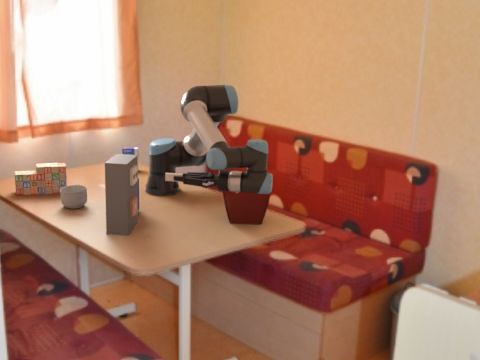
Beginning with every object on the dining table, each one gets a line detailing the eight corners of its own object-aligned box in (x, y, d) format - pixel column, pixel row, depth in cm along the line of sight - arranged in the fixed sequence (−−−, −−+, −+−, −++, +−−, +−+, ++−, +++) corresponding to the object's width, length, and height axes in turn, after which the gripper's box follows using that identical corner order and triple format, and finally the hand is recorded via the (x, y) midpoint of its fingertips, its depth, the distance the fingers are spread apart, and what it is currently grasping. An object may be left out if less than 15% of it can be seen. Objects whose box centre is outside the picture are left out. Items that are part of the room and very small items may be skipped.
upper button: (137, 181, 239) (137, 165, 238) (133, 185, 234) (133, 169, 232) (116, 179, 240) (116, 164, 239) (111, 184, 235) (111, 168, 233)
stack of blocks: (15, 195, 276) (14, 168, 272) (15, 191, 281) (14, 164, 278) (67, 192, 282) (66, 165, 279) (66, 188, 288) (65, 162, 285)
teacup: (80, 212, 258) (79, 193, 256) (55, 209, 260) (54, 190, 258) (94, 201, 271) (94, 183, 269) (71, 199, 273) (70, 181, 271)
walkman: (122, 171, 317) (122, 148, 314) (122, 170, 320) (122, 147, 317) (138, 171, 319) (138, 148, 316) (138, 170, 322) (138, 146, 318)
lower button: (138, 211, 243) (137, 196, 241) (133, 216, 237) (133, 201, 235) (117, 210, 244) (116, 195, 242) (112, 215, 238) (111, 199, 236)
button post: (138, 222, 248) (137, 155, 241) (127, 235, 235) (126, 164, 227) (118, 221, 249) (116, 153, 242) (106, 233, 236) (104, 162, 228)
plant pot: (223, 210, 266) (224, 171, 262) (269, 212, 266) (271, 173, 261) (220, 226, 248) (221, 184, 243) (269, 228, 248) (272, 186, 243)
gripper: (226, 196, 226) (161, 191, 229) (231, 186, 239) (169, 181, 241) (227, 175, 224) (161, 171, 227) (232, 166, 237) (170, 162, 239)
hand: (165, 176), depth 234 cm, fingers closed
